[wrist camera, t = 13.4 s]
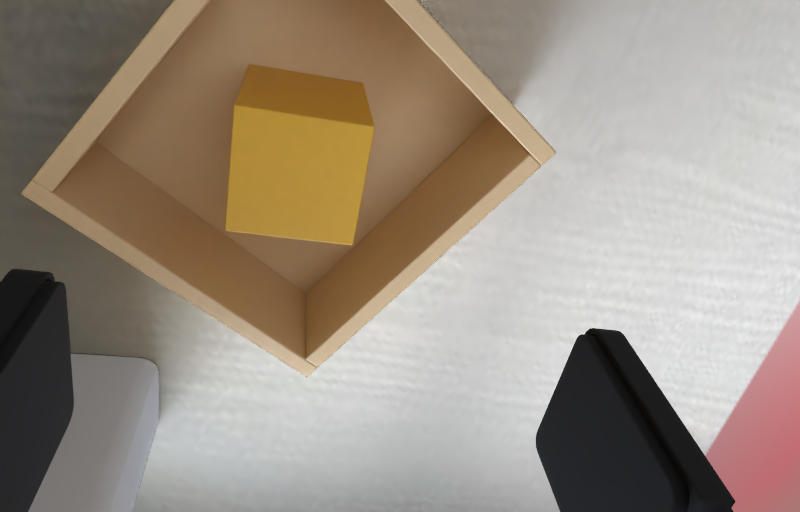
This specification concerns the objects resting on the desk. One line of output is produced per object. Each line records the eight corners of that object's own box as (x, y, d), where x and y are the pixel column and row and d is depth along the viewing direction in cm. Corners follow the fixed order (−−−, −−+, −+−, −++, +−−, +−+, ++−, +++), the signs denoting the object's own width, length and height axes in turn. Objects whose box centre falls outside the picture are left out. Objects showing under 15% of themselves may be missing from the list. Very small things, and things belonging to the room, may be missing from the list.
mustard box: (363, 82, 25) (375, 126, 20) (346, 185, 27) (353, 246, 22) (248, 63, 24) (233, 104, 19) (240, 170, 26) (224, 231, 22)
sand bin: (292, -135, 22) (286, -143, 17) (513, 106, 27) (557, 153, 22) (75, 137, 25) (19, 194, 21) (307, 302, 31) (306, 378, 26)
